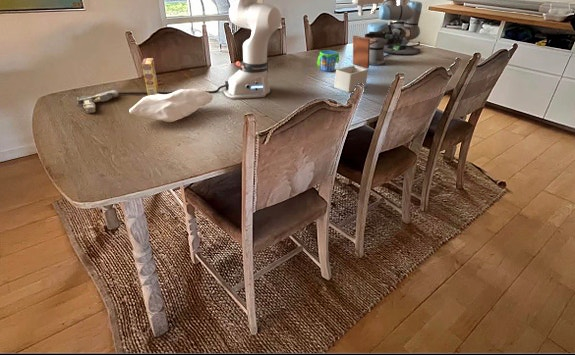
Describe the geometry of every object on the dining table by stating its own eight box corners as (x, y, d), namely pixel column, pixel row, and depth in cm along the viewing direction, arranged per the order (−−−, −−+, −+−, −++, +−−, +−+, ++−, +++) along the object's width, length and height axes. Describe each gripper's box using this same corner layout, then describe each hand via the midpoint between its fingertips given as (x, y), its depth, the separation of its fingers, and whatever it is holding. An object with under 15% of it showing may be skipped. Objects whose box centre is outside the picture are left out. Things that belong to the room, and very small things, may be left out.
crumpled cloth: (117, 110, 146) (113, 90, 140) (195, 92, 166) (194, 73, 160) (143, 139, 134) (140, 118, 128) (223, 116, 154) (224, 96, 148)
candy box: (157, 97, 164) (152, 63, 155) (147, 98, 163) (141, 63, 155) (158, 91, 171) (153, 57, 163) (149, 91, 170) (143, 58, 162)
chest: (348, 92, 179) (350, 74, 175) (333, 87, 185) (335, 69, 180) (365, 87, 187) (368, 69, 182) (351, 82, 193) (353, 65, 188)
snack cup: (332, 66, 217) (333, 48, 212) (343, 70, 210) (345, 52, 204) (311, 69, 210) (312, 51, 204) (322, 74, 202) (324, 55, 197)
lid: (368, 39, 173) (380, 33, 177) (352, 36, 178) (364, 30, 182) (367, 68, 182) (378, 62, 186) (352, 64, 188) (363, 58, 192)
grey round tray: (430, 51, 257) (433, 37, 253) (397, 56, 240) (399, 42, 235) (392, 44, 282) (394, 31, 277) (360, 48, 264) (361, 35, 260)
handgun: (128, 97, 156) (111, 87, 164) (86, 107, 144) (70, 97, 152) (129, 103, 157) (113, 94, 165) (88, 114, 146) (72, 103, 154)
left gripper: (362, -18, 156) (358, 17, 163) (390, -19, 168) (384, 13, 175) (351, -19, 160) (347, 15, 167) (378, -20, 172) (374, 11, 179)
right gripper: (418, 46, 191) (395, 52, 178) (379, 37, 206) (355, 42, 194) (421, 31, 187) (398, 36, 174) (381, 23, 202) (357, 27, 190)
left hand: (366, 14), depth 171 cm, fingers open, 8 cm apart
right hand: (375, 39), depth 184 cm, fingers open, 13 cm apart
